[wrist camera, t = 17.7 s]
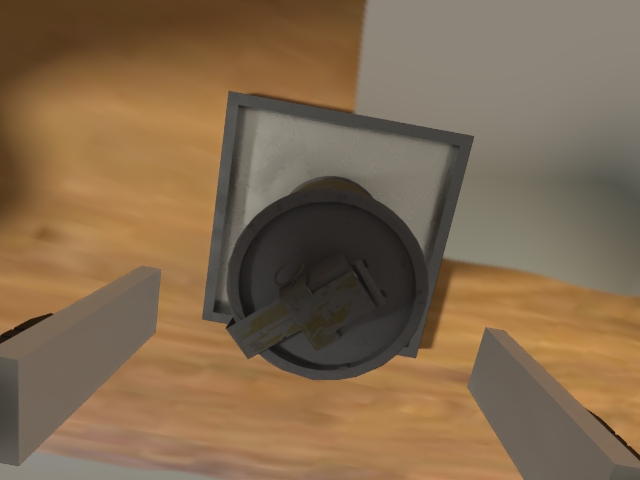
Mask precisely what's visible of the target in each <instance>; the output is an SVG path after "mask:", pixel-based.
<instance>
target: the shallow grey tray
mask: <svg viewBox="0 0 640 480" xmlns="http://www.w3.org/2000/svg"><path fill="white" fill-rule="evenodd" d="M473 138H474V136H470V135H465V134H459V133H454V132H448V131H443V130H438V129H432V128H427V127H421V126H416V125H411V124H405V123H400V122H394V121H389V120H383V119H378V118H372V117H367V116H362V115H356V114H351V113H346V112H340V111H335V110H329V109H324V108H318V107H313V106H308V105H302V104H297V103H291V102H286V101H280V100H275V99H270V98H264V97H259V96H253V95H248V94H243V93H237V92H232V91H229V93H228V102H227V110H226V119H225V127H224V136H223V145H222V153H221V162H220V170H219V179H218V187H217V196H216V205H215V213H214V222H213V230H212V239H211V247H210V256H209V265H208V273H207V282H206V290H205V299H204V308H203V316H202V319H203V320H208V321H214V322H219V323H225V324H228V323H229V322H230V320H231V319H232V317H233V315H232V312H231V310H230V306H229V301H228V296H227V290H226V288H227V272H228V263H229V261H230V258H231V255H232V252H233V249H234V247H235V244H236V241H237V239H238V238H239V236H240V235H241V233H242V232H243V230H244V229H245V228H246V226H247V225H248V224H249V223H250V221H251V220H252V219H253V218H254V217H255V216H256V215H257V214H258V213H260V212H261V211H262V210H263V209H264V208H266V207H267V206H268V205H270V204H272V203H274V202H275V201H277V200H279V199H280V198H283V197H285V196H287V195H289V194H290V193H291V192H292V191H293V190H294V189H295V188H296V187H298V186H299V185H301V184H302V183H304V182H306V181H308V180H311V179H314V178H317V177H323V176H337V177H343V178H346V179H349V180H351V181H353V182H355V183H357V184H359V185H360V186H362V187H363V188H364V189H365V190H367V191H368V192H369V193H370V194H371V196H372V197H373V198H374V199H375V200H377V201H379V202H381V203H382V204H384V205H385V206H387V207H388V208H390V209H391V210H392V211H393V212H395V213H396V214H397V215H398V216H399V217H400V218H401V219H402V220H403V221H404V222H405V223H406V225H407V226H408V227H409V229H410V230H411V232H412V233H413V235H414V236H415V238H416V239H417V241H418V243H419V245H420V247H421V249H422V251H423V255H424V258H425V262H426V266H427V270H428V284H429V293H428V298H427V303H426V307H425V310H424V313H423V316H422V319H421V321H420V324H419V327H418V329H417V331H416V332H415V334H414V335H413V336H412V338H411V339H410V341H409V342H408V344H407V345H406V346H405V347H404V348H403V349H402V350H401V351H400V352H399V353H398V354H397V355H401V356H406V357H412V358H416V356H417V352H418V349H419V345H420V341H421V337H422V333H423V330H424V326H425V322H426V318H427V314H428V310H429V307H430V303H431V299H432V295H433V291H434V288H435V284H436V280H437V276H438V272H439V269H440V265H441V261H442V257H443V253H444V250H445V246H446V241H447V238H448V234H449V230H450V227H451V223H452V219H453V215H454V211H455V207H456V204H457V200H458V196H459V192H460V189H461V185H462V181H463V177H464V173H465V169H466V166H467V162H468V158H469V154H470V150H471V147H472V143H473Z"/></svg>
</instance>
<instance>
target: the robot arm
mask: <svg viewBox="0 0 640 480" xmlns="http://www.w3.org/2000/svg"><path fill="white" fill-rule="evenodd" d="M160 276H161V269H157V268H152V267H146V266H141V267H139V268H137V269H135V270H133V271H132V272H130V273H128V274H126V275H124V276H122V277H121V278H119V279H117V280H115V281H113V282H112V283H110V284H108V285H106V286H104V287H103V288H101V289H99V290H97V291H95V292H93V293H92V294H90V295H88V296H86V297H84V298H83V299H81V300H79V301H77V302H75V303H74V304H72V305H70V306H68V307H66V308H65V309H63V310H61V311H59V312H57V313H55V314H52V313H50V314H47V315H43V316H40V317H36V318H33V319H30V320H28V321H26V322H24V323H22V324H20V325H18V326H17V327H15V328H14V329H13V330H9V331H7V332H5V333H3V334H1V336H0V463H3V464H10V465H15V466H20V465H21V464H22V463H23V462H24V461H25V460H26V459H27V457H29V456H30V455H31V454H32V453H33V452H34V451H35V450H36V449H37V448H38V447H39V446H40V445H41V444H42V443H43V442H44V441H45V440H46V439H47V438H48V437H49V436H50V435H51V434H52V433H53V432H54V431H55V430H56V429H57V428H58V427H59V426H60V425H61V424H62V423H63V422H65V421H66V420H67V419H68V418H69V417H70V416H71V415H72V414H73V413H74V412H75V411H76V410H77V409H78V408H79V407H80V406H81V405H82V404H83V403H84V402H85V401H86V400H87V399H88V398H89V397H90V396H91V395H92V394H93V393H94V392H95V391H96V390H97V389H98V388H99V387H100V386H101V385H102V384H103V383H104V382H105V381H106V380H107V379H108V378H109V377H111V376H112V375H113V374H114V373H115V372H116V371H117V370H118V369H119V368H120V367H121V366H122V365H123V364H124V363H125V362H126V361H127V360H128V359H129V358H130V357H131V356H132V355H133V354H134V353H135V352H136V351H137V350H138V349H139V348H140V347H141V346H142V345H143V344H144V343H145V342H146V341H147V340H148V339H149V338H150V337H151V336H152V335H153V334H154V333H155V332H156V323H157V311H158V300H159V288H160ZM467 388H468V389H469V391H470V392H471V394H472V396H473V397H474V399H475V401H476V402H477V404H478V406H479V407H480V409H481V410H482V412H483V414H484V415H485V417H486V419H487V420H488V422H489V423H490V425H491V427H492V428H493V430H494V432H495V433H496V435H497V436H498V438H499V440H500V441H501V443H502V445H503V446H504V448H505V450H506V451H507V453H508V454H509V456H510V458H511V459H512V461H513V463H514V464H515V466H516V467H517V469H518V471H519V472H520V474H521V476H522V477H523V479H524V480H640V455H639V454H638V453H637V452H636V451H635V450H634V449H632V448H631V447H630V446H627V443H626V442H625V441H624V440H623V439H622V438H621V437H620V436H619V435H616V434H615V432H614V431H613V430H612V429H611V428H610V427H609V426H608V425H607V424H606V423H605V422H604V421H603V420H602V419H601V418H599V417H598V416H596V415H595V414H593V413H592V412H590V411H589V410H587V409H586V408H585V407H583V406H582V405H581V404H580V403H579V402H578V401H577V400H576V399H575V398H574V397H573V396H572V395H571V394H570V393H569V392H568V391H567V390H566V389H565V388H563V387H562V386H561V385H560V384H559V383H558V382H557V381H556V380H555V379H554V378H553V377H552V376H551V375H550V374H549V373H548V372H547V371H546V370H545V369H544V368H543V367H542V366H541V365H540V364H539V363H537V362H536V361H535V360H534V359H533V358H532V357H531V356H530V355H529V354H528V353H527V352H526V351H525V350H524V349H523V348H522V347H521V346H520V345H519V344H518V343H517V342H516V341H515V340H514V339H513V338H512V337H510V336H509V335H508V334H507V333H506V332H505V331H504V330H498V329H493V328H487V327H486V328H485V331H484V334H483V337H482V341H481V344H480V347H479V351H478V354H477V357H476V361H475V364H474V367H473V370H472V374H471V377H470V380H469V384H468V387H467Z"/></svg>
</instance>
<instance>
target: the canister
mask: <svg viewBox="0 0 640 480" xmlns="http://www.w3.org/2000/svg"><path fill="white" fill-rule="evenodd" d="M226 290H227V296H228V301H229V306H230V310H231V312H232V315H233V317H232V319H231V320H230V322H229V323H228V325H227V327H226V329H227V331H228V332H229V334H230V335H231V336H232V338H233V339H234V341H235V342H236V343H237V345H238V346H239V347H240V349H241V350H242V352H243V353H244V354H245V356H246V357H247V358H248V359H249V358H251V357H253V356H255V355H257V354H259V355H261V356H262V357H263V358H264V359H265V360H267V361H268V362H269V363H271V364H273V365H274V366H276V367H278V368H280V369H281V370H284V371H287V372H290V373H293V374H296V375H299V376H302V377H306V378H309V379H312V380H340V379H346V378H352V377H357V376H359V375H362V374H364V373H366V372H369V371H371V370H374V369H376V368H378V367H381V366H383V365H384V364H385V363H387V362H388V361H389V360H391V359H392V358H393V357H394V356H396V355H397V354H398V353H399V352H400V351H401V350H402V349H403V348H404V347H405V346H406V345H407V344H408V342H409V341H410V339H411V338H412V336H413V335H414V334H415V332H416V331H417V329H418V327H419V324H420V321H421V319H422V316H423V313H424V310H425V307H426V303H427V298H428V293H429V284H428V270H427V266H426V262H425V258H424V255H423V251H422V249H421V247H420V245H419V243H418V241H417V239H416V238H415V236H414V235H413V233H412V232H411V230H410V229H409V227H408V226H407V225H406V223H405V222H404V221H403V220H402V219H401V218H400V217H399V216H398V215H397V214H396V213H395V212H393V211H392V210H391V209H390V208H388V207H387V206H385V205H384V204H382V203H381V202H379V201H377V200H375V199H374V198H373V197H372V196H371V194H370V193H369V192H368V191H367V190H365V189H364V188H363V187H362V186H360V185H359V184H357V183H355V182H353V181H351V180H349V179H346V178H343V177H337V176H323V177H317V178H314V179H311V180H308V181H306V182H304V183H302V184H301V185H299V186H298V187H296V188H295V189H294V190H293V191H292V192H291V193H290V194H289V195H287V196H285V197H283V198H280V199H279V200H277V201H275V202H274V203H272V204H270V205H268V206H267V207H266V208H264V209H263V210H262V211H261V212H260V213H258V214H257V215H256V216H255V217H254V218H253V219H252V220H251V221H250V223H249V224H248V225H247V226H246V228H245V229H244V230H243V232H242V233H241V235H240V236H239V238H238V239H237V241H236V244H235V247H234V249H233V252H232V255H231V258H230V261H229V263H228V272H227V288H226Z"/></svg>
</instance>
